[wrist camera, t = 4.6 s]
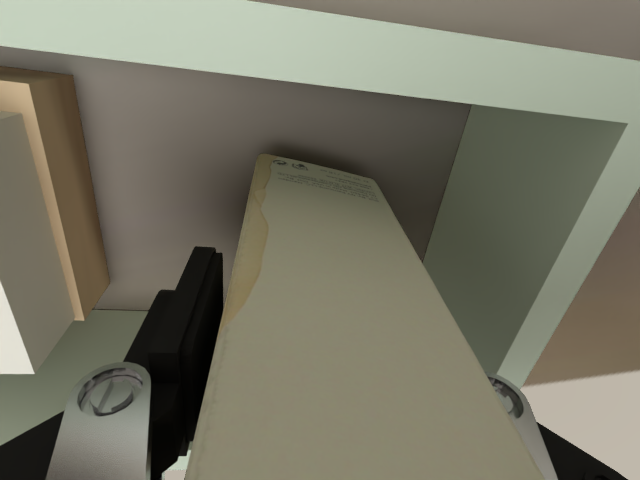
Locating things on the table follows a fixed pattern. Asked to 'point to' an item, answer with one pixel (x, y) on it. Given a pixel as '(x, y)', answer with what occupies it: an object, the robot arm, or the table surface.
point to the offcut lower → (61, 176)
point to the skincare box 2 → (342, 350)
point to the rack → (464, 181)
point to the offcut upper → (27, 259)
